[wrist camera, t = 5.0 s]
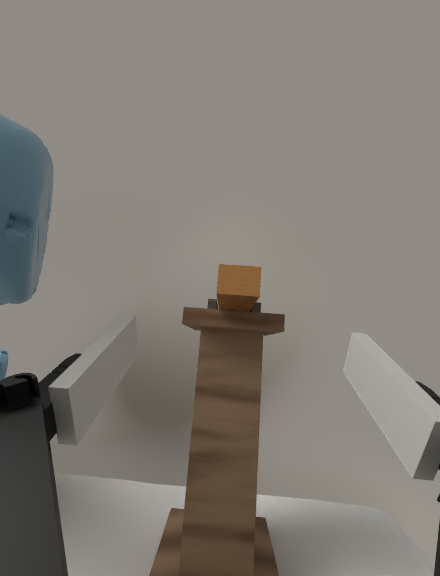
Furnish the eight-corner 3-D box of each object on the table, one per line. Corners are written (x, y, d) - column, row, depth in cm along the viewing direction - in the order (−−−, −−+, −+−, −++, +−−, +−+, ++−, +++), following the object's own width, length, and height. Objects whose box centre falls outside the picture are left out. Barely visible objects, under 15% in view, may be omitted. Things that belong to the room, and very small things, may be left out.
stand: (287, 636, 24) (293, 305, 30) (139, 618, 24) (176, 296, 31) (264, 529, 37) (272, 317, 44) (170, 519, 38) (191, 311, 45)
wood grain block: (259, 296, 21) (261, 266, 21) (216, 293, 21) (219, 264, 21) (241, 321, 44) (242, 307, 45) (220, 320, 44) (222, 306, 45)
